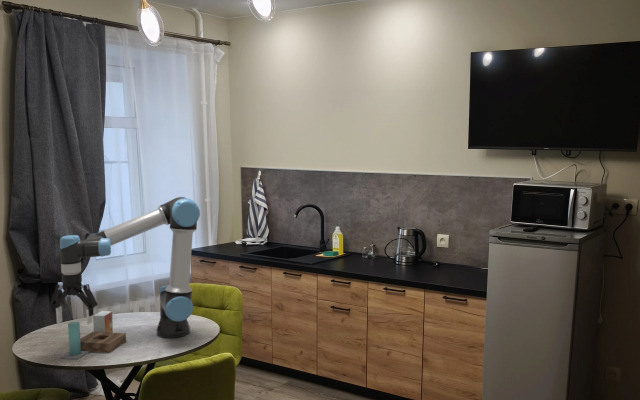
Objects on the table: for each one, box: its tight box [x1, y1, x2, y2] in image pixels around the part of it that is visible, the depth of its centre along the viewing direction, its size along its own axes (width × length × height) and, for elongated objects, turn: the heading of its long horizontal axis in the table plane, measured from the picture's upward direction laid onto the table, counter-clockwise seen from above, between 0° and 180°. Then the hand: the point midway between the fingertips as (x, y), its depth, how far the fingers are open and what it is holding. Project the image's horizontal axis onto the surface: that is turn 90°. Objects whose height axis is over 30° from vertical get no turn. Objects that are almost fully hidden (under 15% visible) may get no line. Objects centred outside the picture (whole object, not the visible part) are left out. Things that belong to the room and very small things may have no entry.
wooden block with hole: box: [80, 331, 127, 354], centre depth 245 cm, size 16×14×4 cm
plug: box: [67, 321, 81, 356], centre depth 234 cm, size 4×4×13 cm
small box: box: [92, 310, 114, 333], centre depth 260 cm, size 8×6×10 cm
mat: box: [59, 351, 90, 360], centre depth 235 cm, size 8×8×1 cm
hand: (74, 323), depth 234 cm, fingers open, 13 cm apart
